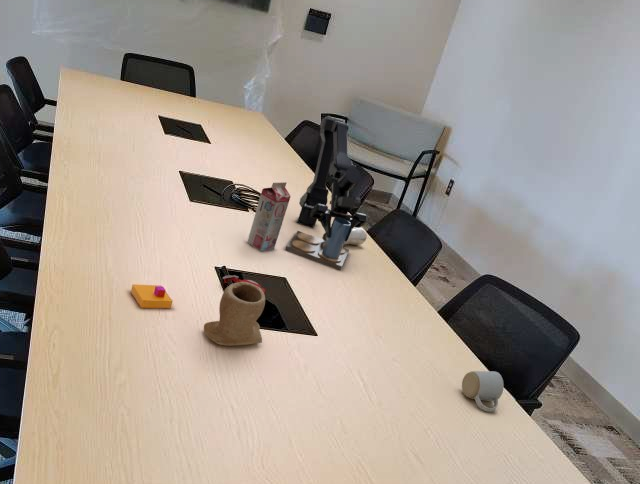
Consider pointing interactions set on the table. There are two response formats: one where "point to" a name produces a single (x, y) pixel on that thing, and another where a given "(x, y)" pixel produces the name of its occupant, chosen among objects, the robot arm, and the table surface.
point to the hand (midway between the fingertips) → (337, 239)
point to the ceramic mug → (483, 387)
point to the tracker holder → (240, 281)
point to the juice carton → (269, 217)
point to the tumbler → (336, 238)
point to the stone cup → (238, 316)
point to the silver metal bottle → (353, 237)
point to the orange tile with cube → (151, 296)
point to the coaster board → (314, 250)
